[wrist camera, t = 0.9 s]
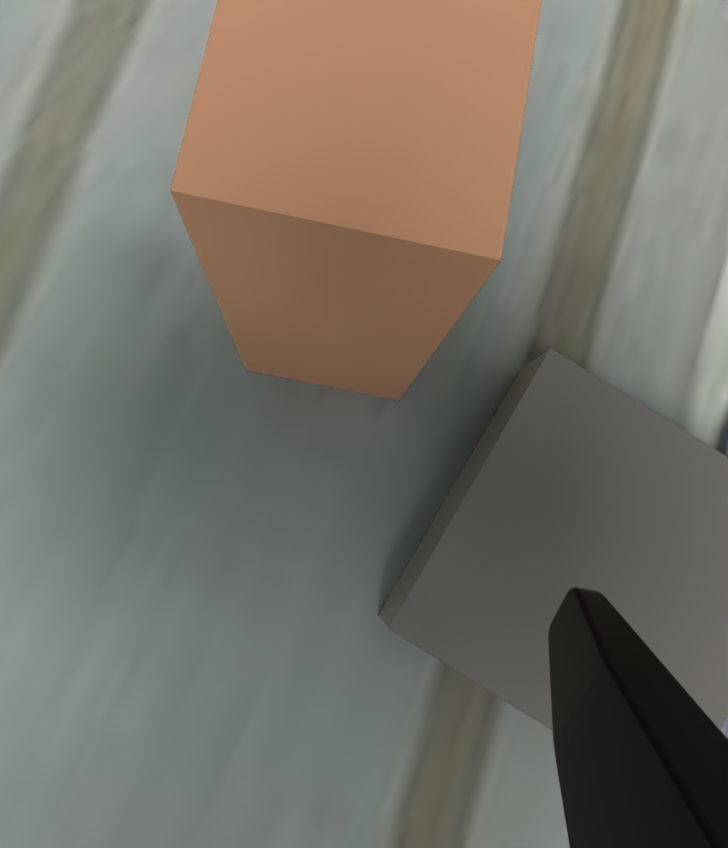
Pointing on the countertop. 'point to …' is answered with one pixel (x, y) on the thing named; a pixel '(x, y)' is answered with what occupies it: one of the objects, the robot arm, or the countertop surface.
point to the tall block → (353, 176)
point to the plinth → (573, 540)
